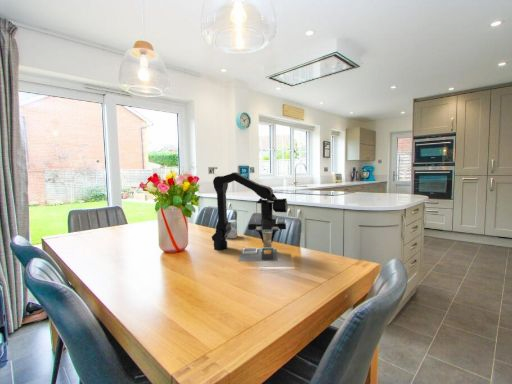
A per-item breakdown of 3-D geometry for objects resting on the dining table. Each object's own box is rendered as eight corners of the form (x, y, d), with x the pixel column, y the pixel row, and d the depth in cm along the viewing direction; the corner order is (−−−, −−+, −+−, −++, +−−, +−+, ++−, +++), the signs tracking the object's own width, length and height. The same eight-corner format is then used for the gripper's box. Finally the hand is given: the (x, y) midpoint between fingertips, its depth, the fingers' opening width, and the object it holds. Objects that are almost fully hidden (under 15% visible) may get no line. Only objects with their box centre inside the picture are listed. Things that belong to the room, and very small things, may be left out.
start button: (263, 258, 122) (263, 251, 122) (264, 255, 125) (263, 249, 125) (271, 258, 122) (271, 251, 121) (271, 255, 125) (271, 249, 125)
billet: (263, 247, 130) (263, 233, 130) (263, 245, 134) (263, 231, 134) (271, 247, 130) (271, 233, 130) (271, 245, 134) (271, 231, 134)
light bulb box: (237, 235, 171) (237, 219, 170) (235, 238, 164) (235, 221, 164) (221, 235, 172) (220, 219, 171) (219, 238, 166) (218, 221, 165)
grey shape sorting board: (238, 263, 120) (238, 255, 120) (242, 251, 138) (242, 244, 138) (277, 262, 119) (277, 255, 119) (276, 250, 137) (276, 244, 137)
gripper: (246, 215, 123) (247, 247, 125) (286, 214, 122) (287, 247, 124) (248, 211, 134) (249, 241, 136) (285, 210, 134) (285, 240, 135)
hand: (267, 242), depth 132 cm, fingers closed on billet, 4 cm apart
